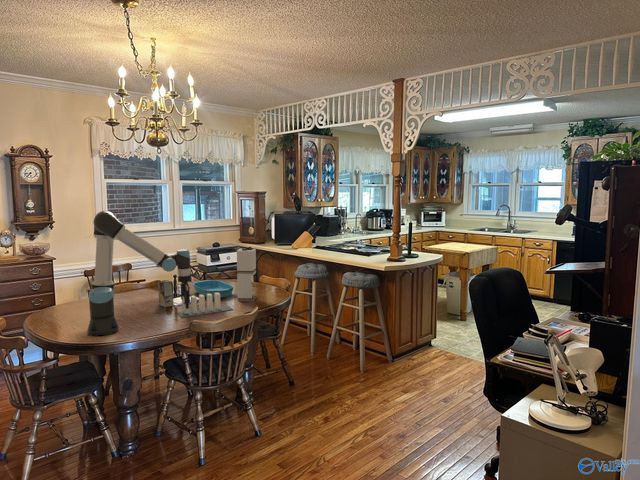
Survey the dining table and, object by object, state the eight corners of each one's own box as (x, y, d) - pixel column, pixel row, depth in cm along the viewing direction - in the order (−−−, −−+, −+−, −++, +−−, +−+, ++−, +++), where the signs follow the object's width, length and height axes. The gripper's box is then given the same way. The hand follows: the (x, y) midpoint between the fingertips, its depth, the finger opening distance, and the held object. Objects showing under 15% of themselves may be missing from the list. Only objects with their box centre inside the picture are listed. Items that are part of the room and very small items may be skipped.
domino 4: (209, 311, 265) (208, 295, 264) (207, 309, 270) (206, 293, 268) (212, 310, 266) (212, 295, 265) (210, 308, 271) (210, 293, 270)
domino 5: (217, 309, 268) (216, 294, 267) (214, 308, 272) (214, 292, 271) (220, 309, 269) (220, 294, 268) (218, 307, 273) (217, 292, 272)
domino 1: (184, 314, 258) (184, 298, 256) (182, 312, 262) (182, 296, 261) (188, 313, 259) (187, 297, 257) (186, 311, 263) (185, 295, 262)
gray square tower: (253, 301, 291) (252, 250, 287) (237, 301, 291) (236, 250, 287) (256, 297, 302) (255, 248, 298) (241, 296, 303) (240, 248, 298)
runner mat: (181, 318, 253) (181, 317, 253) (177, 313, 263) (176, 312, 263) (233, 310, 270) (233, 309, 270) (226, 305, 280) (226, 304, 280)
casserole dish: (239, 296, 304) (238, 286, 304) (209, 301, 290) (209, 291, 290) (216, 287, 333) (216, 278, 332) (189, 291, 319) (188, 282, 318)
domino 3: (201, 312, 263) (200, 296, 262) (199, 310, 267) (198, 294, 266) (205, 311, 264) (204, 296, 263) (202, 309, 268) (202, 294, 267)
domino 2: (193, 313, 260) (192, 297, 259) (191, 311, 264) (190, 295, 263) (196, 313, 261) (196, 297, 260) (194, 311, 266) (194, 295, 264)
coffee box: (174, 305, 280) (173, 281, 278) (165, 307, 276) (164, 283, 274) (167, 303, 287) (166, 279, 285) (158, 304, 282) (157, 281, 280)
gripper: (194, 277, 252) (196, 315, 255) (186, 271, 267) (188, 307, 270) (181, 278, 248) (183, 316, 251) (174, 273, 263) (176, 309, 266)
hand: (185, 312), depth 260 cm, fingers closed on domino 1, 5 cm apart
